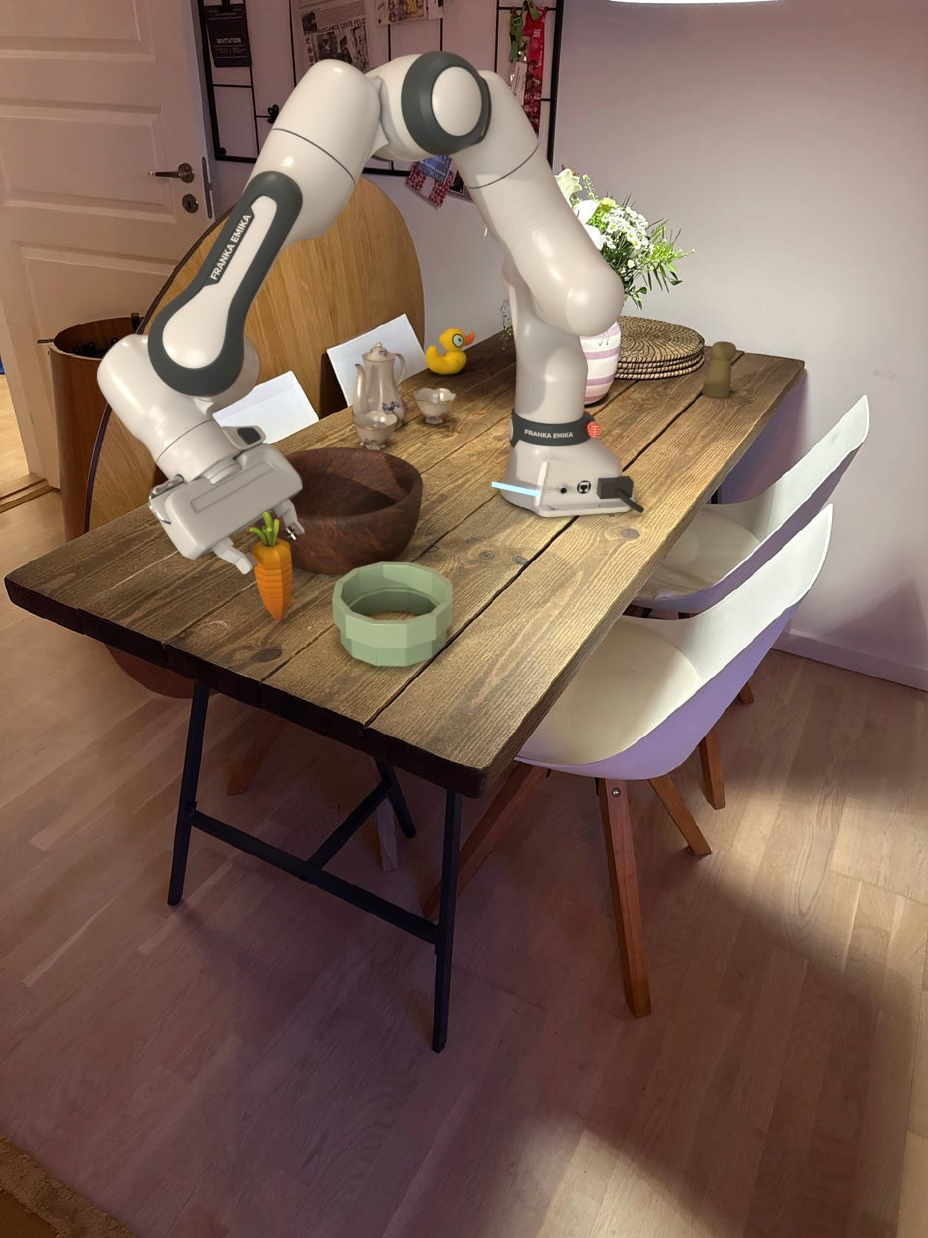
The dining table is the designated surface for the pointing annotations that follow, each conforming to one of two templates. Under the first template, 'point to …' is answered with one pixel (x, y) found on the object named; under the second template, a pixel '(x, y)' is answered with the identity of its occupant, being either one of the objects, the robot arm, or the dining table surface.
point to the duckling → (449, 352)
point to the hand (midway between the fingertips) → (276, 552)
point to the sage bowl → (393, 592)
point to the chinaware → (389, 399)
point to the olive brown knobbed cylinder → (719, 370)
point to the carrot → (273, 568)
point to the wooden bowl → (351, 508)
